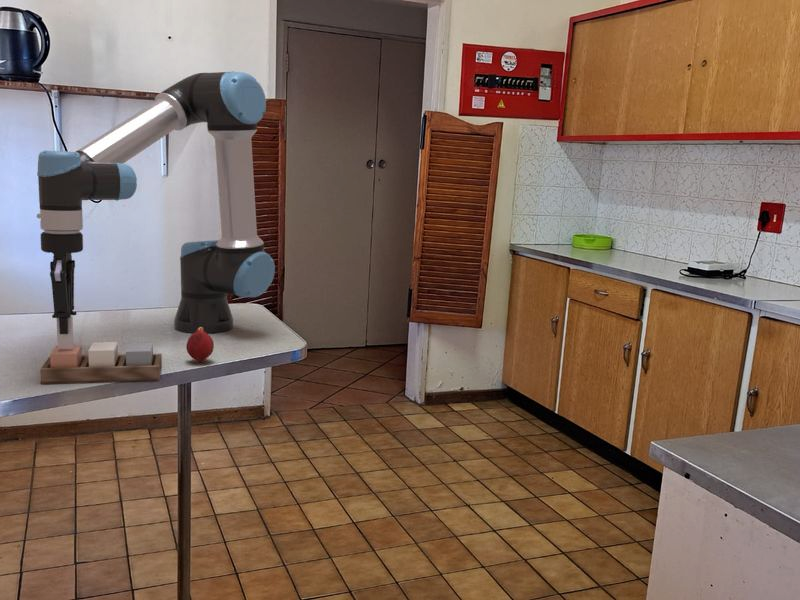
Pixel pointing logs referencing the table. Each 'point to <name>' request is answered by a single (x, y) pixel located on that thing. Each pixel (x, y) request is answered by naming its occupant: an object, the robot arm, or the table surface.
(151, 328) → the table surface
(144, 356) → the slate key
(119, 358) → the wooden compartment tray
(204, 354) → the onion
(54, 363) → the terracotta key
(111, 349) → the cream key
